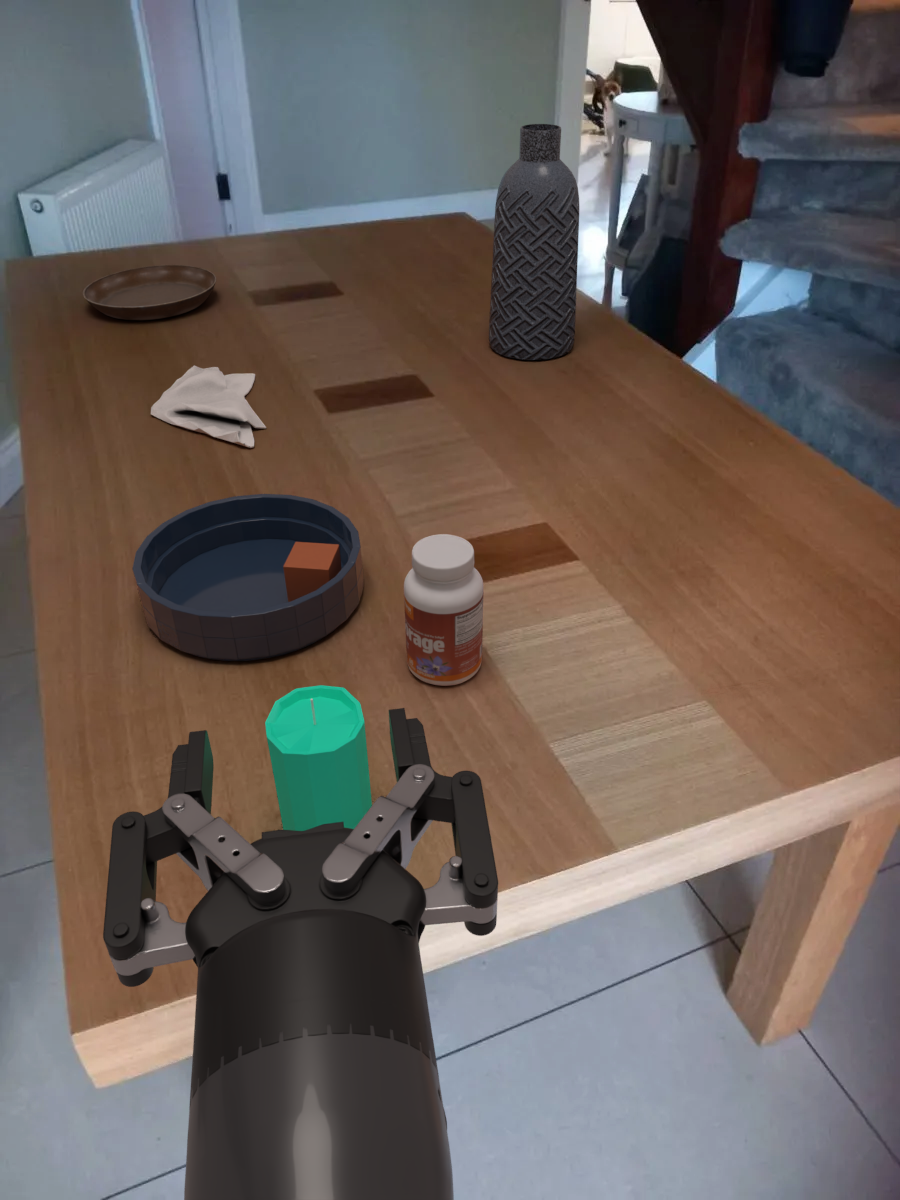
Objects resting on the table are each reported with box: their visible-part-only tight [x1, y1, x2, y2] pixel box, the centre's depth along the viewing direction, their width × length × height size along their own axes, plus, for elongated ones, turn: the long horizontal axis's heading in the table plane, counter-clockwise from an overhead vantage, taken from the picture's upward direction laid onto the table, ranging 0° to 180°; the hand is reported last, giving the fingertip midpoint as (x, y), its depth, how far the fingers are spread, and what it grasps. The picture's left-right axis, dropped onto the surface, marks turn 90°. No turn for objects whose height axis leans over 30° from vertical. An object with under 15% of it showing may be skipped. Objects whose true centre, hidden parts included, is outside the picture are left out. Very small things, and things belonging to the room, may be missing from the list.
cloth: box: [150, 364, 267, 449], centre depth 115 cm, size 26×14×2 cm, turn 13°
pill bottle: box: [403, 533, 485, 687], centre depth 72 cm, size 6×6×11 cm
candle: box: [264, 684, 373, 831], centre depth 58 cm, size 6×6×12 cm
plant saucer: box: [82, 264, 217, 321], centre depth 147 cm, size 21×21×3 cm
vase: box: [488, 123, 580, 361], centre depth 123 cm, size 12×12×28 cm
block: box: [283, 542, 341, 602], centre depth 81 cm, size 4×4×4 cm
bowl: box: [132, 493, 365, 662], centre depth 82 cm, size 19×19×5 cm
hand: (300, 733), depth 40 cm, fingers open, 8 cm apart
